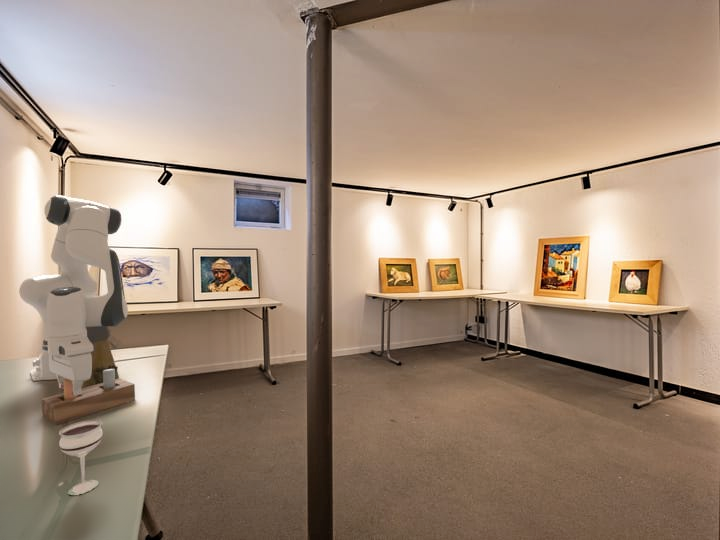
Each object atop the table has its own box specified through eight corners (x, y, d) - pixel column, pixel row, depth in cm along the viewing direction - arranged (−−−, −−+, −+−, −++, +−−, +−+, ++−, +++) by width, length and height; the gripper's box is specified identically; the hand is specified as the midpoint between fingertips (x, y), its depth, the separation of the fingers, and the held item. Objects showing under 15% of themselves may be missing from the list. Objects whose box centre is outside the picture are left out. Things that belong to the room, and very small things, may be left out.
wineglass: (106, 473, 74) (104, 416, 74) (102, 491, 68) (100, 430, 68) (64, 484, 71) (62, 424, 70) (57, 504, 65) (54, 439, 64)
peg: (62, 414, 103) (61, 380, 102) (75, 410, 105) (74, 377, 105) (67, 416, 101) (65, 382, 101) (79, 412, 103) (78, 378, 103)
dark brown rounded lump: (89, 397, 115) (88, 373, 114) (93, 390, 121) (92, 367, 121) (116, 393, 118) (115, 369, 118) (119, 386, 125) (119, 363, 124)
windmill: (120, 370, 143) (117, 296, 141) (138, 376, 135) (135, 298, 134) (52, 387, 125) (49, 302, 123) (69, 395, 117) (65, 304, 116)
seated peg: (102, 402, 111) (101, 370, 110) (113, 399, 113) (112, 368, 113) (106, 404, 109) (105, 372, 109) (117, 401, 112) (116, 369, 111)
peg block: (42, 416, 101) (41, 399, 101) (120, 393, 118) (119, 378, 118) (55, 424, 96) (54, 406, 96) (135, 399, 113) (134, 384, 112)
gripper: (41, 341, 105) (43, 387, 106) (68, 351, 94) (70, 402, 94) (67, 337, 110) (69, 381, 111) (96, 346, 99) (98, 394, 100)
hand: (70, 391), depth 103 cm, fingers open, 8 cm apart
